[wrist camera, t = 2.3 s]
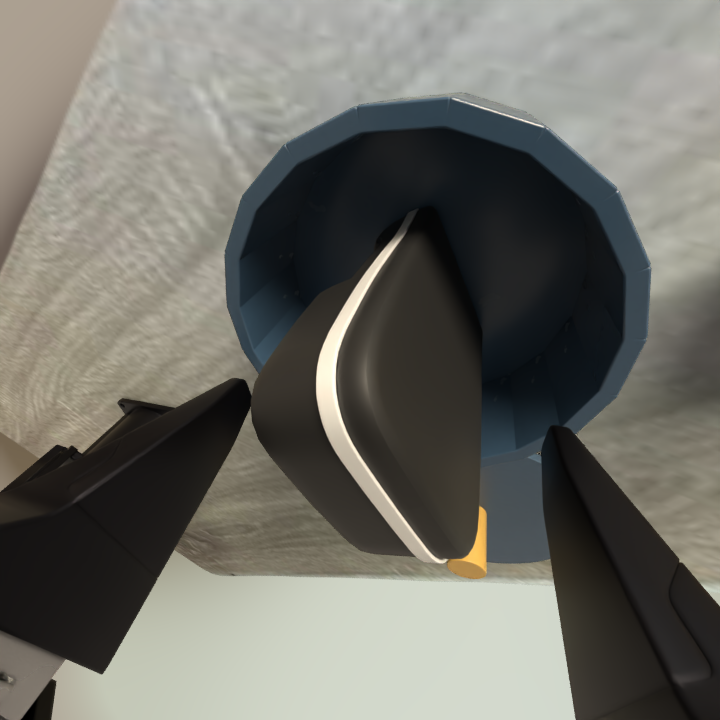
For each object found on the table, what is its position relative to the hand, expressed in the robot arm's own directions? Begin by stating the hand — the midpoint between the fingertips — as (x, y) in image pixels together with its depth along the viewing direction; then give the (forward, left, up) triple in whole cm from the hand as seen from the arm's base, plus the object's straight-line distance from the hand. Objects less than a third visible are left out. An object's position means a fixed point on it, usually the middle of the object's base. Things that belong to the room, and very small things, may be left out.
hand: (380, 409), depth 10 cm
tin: (0, 0, -8) cm, 9 cm away
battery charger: (0, 0, -8) cm, 8 cm away
